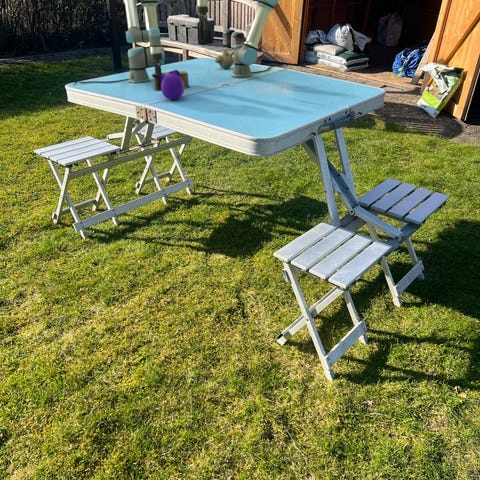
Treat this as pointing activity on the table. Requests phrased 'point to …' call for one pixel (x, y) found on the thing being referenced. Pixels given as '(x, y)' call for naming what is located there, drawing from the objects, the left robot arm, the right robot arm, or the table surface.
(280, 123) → the table surface
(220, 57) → the teapot
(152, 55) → the left robot arm
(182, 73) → the box
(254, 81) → the table surface
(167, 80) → the toy
